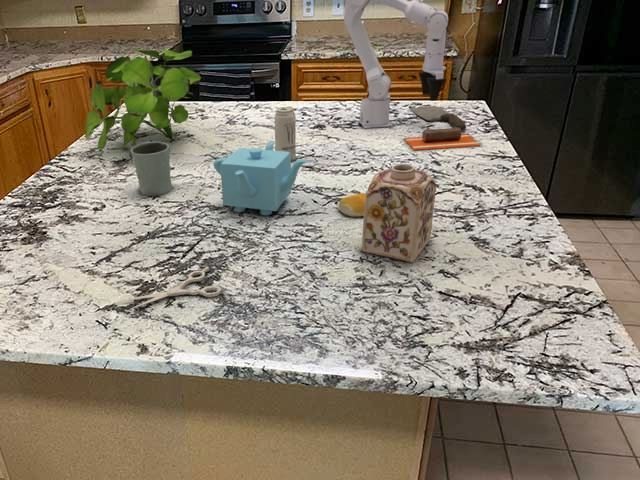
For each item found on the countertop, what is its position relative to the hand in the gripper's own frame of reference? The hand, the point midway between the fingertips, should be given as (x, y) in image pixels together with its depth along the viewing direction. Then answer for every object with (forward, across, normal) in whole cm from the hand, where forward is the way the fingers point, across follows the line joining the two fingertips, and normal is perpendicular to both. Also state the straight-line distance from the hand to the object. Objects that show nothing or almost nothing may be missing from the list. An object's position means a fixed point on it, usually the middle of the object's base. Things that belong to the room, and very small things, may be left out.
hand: (429, 97), depth 197 cm
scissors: (+9, -96, +81) cm, 126 cm away
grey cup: (+10, -40, +88) cm, 97 cm away
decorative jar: (+10, -83, +33) cm, 90 cm away
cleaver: (+10, +6, -6) cm, 13 cm away
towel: (+9, -18, +1) cm, 20 cm away
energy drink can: (+10, -23, +50) cm, 56 cm away
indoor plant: (+10, +2, +93) cm, 93 cm away
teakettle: (+10, -56, +60) cm, 83 cm away
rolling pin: (+7, -17, +1) cm, 18 cm away
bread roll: (+10, -63, +37) cm, 74 cm away
